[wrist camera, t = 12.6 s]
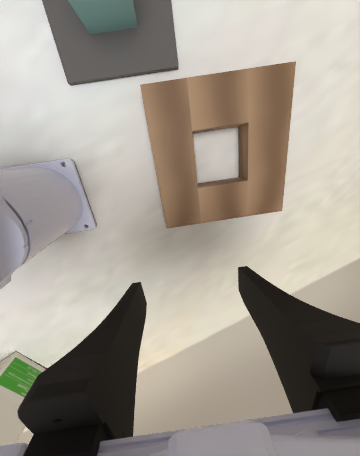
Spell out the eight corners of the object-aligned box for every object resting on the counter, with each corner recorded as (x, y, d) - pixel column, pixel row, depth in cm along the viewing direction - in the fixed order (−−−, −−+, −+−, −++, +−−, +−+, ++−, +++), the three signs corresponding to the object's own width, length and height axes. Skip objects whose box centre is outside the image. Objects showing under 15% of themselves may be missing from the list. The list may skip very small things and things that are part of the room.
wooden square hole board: (166, 220, 22) (166, 228, 20) (144, 94, 17) (140, 84, 15) (270, 204, 22) (282, 210, 20) (278, 74, 17) (295, 61, 15)
